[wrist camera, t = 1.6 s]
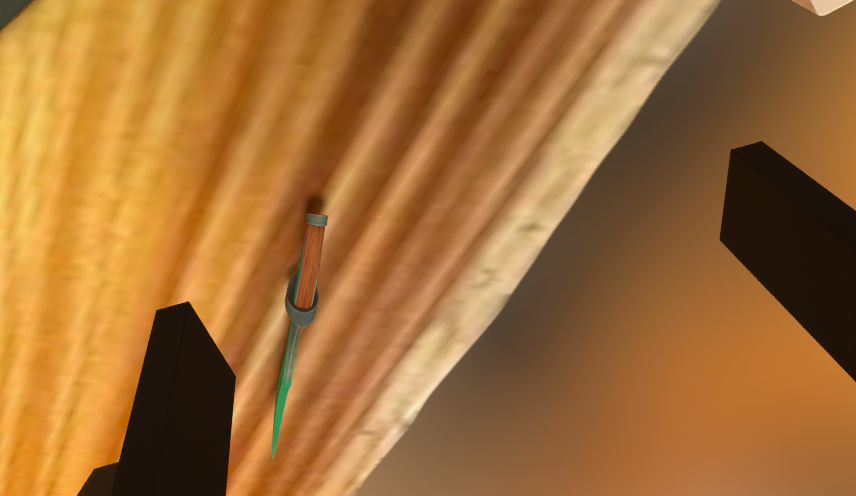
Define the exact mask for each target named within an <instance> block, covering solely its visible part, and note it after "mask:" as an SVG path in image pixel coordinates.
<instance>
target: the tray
mask: <svg viewBox="0 0 856 496" xmlns="http://www.w3.org/2000/svg"><path fill="white" fill-rule="evenodd" d="M33 1H34V0H0V32H1V31H2V30H3V29H4V28H5V27H6V26H7V25H8V24H9V23H11V22H12V21H13V20H14V19H15V18H16V17H17V16H18V15H19V14H20V13H21V12H22V11H23V10H24V9H26V8H27V7H28V6H29V5H30V4H31V3H32V2H33Z"/></svg>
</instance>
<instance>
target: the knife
mask: <svg viewBox="0 0 856 496" xmlns="http://www.w3.org/2000/svg"><path fill="white" fill-rule="evenodd" d="M327 219H328V216H326V215H319V214H311V213H306V221H305V222H307V225H306V229H305V234H304V239H303V248H302V255H301V260H300V264H299V269H298V270H297V271H296V272H295V273H294V274H293V276H292V277H291V279H290V281H289V284H288V287H287V293H286V298H285V307H286V311H287V313H288V315H289V317H290V319H291V324H290V329H289V334H288V339H287V344H286V349H285V354H284V358H283V362H282V367H281V371H280V375H279V379H278V385H277V394H276V403H275V413H274V425H273V441H272V459H273V456H274V453H275V449H276V445H277V440H278V436H279V431H280V427H281V422H282V417H283V412H284V407H285V403H286V398H287V394H288V390H289V387H290V386H291V379H292V372H293V367H294V361H295V355H296V350H297V344H298V339H299V334H300V328H301V327H307V326H308V325H310V324H311V323H312V321H313V319H314V317H315V313H316V308H317V303H318V287H317V277H318V271H319V266H320V259H321V251H322V244H323V238H324V231H325V226H326V225H327Z"/></svg>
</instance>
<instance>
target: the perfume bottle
mask: <svg viewBox="0 0 856 496" xmlns="http://www.w3.org/2000/svg"><path fill="white" fill-rule="evenodd" d="M792 1H794V2H796V3H797V4H799V5H801V6H803V7H804V8H806V9H808V10H810V11H812V12H814V13H815V14H817V15H819V16H824V15H827V14H828V13H830V12H832V11H834V10H836V9H838V8H840V7H842V6H844V5H845V4H847V3H849V2H851V1H853V0H792Z"/></svg>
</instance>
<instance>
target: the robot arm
mask: <svg viewBox="0 0 856 496" xmlns="http://www.w3.org/2000/svg"><path fill="white" fill-rule="evenodd" d="M720 241H721V242H722V243H723V244H724V245H725V246H726V247H727V248H728V249H729V250H730V251H731V252H732V253H733V254H734V255H735V257H736V258H737V259H738V260H739V261H740V262H741V263H742V264H743V265H744V266H745V267H746V268H747V269H748V270H749V271H750V272H751V273H752V274H753V275H754V276H755V277H756V278H757V279H758V281H759V282H760V283H761V284H762V285H763V286H764V287H765V288H766V289H767V290H768V291H769V292H770V293H771V294H772V295H773V296H774V297H775V298H776V299H777V300H778V301H779V302H780V303H781V304H782V305H783V307H784V308H785V309H786V310H787V311H788V312H789V313H790V314H791V315H792V316H793V317H794V318H795V319H796V320H797V321H798V322H799V323H800V324H801V325H802V326H803V327H804V328H805V330H806V331H807V332H808V333H809V334H810V335H811V336H812V337H813V338H814V339H815V340H816V341H817V342H818V343H819V344H820V345H821V346H822V347H823V348H824V349H825V350H826V351H827V352H828V353H829V354H830V356H832V358H833V359H834V360H835V361H836V362H837V363H838V364H839V365H840V366H841V367H842V368H843V369H844V370H845V371H846V372H847V373H848V374H849V375H850V376H851V377H852V378H853V379H854V381H855V382H856V211H855V210H854V209H852V208H851V207H850V206H848V205H847V204H846V203H844V202H843V201H842V200H840V199H839V198H838V197H836V196H835V195H834V194H832V193H831V192H829V191H828V190H827V189H826V188H824V187H823V186H821V185H820V184H819V183H817V182H816V181H815V180H813V179H812V178H811V177H809V176H808V175H807V174H805V173H804V172H803V171H801V170H800V169H799V168H797V167H796V166H795V165H793V164H792V163H790V162H789V161H788V160H786V159H785V158H784V157H782V156H781V155H780V154H778V153H777V152H776V151H774V150H773V149H771V148H770V147H769V146H768V145H766V144H765V143H764V142H762V141H761V142H757V143H754V144H750V145H746V146H743V147H739V148H736V149H732V150H731V153H730V160H729V169H728V176H727V184H726V192H725V200H724V209H723V217H722V225H721V232H720ZM235 381H236V376H235V374H234V373H233V371H232V370H231V368H230V366H229V365H228V363H227V362H226V360H225V358H224V357H223V355H222V354H221V352H220V350H219V349H218V347H217V346H216V344H215V342H214V341H213V339H212V338H211V336H210V334H209V333H208V331H207V330H206V328H205V327H204V325H203V323H202V322H201V320H200V319H199V317H198V315H197V314H196V312H195V311H194V309H193V307H192V306H191V304H190V303H189V301H188V302H184V303H181V304H177V305H174V306H170V307H167V308H163V309H159V310H156V314H155V318H154V322H153V326H152V330H151V334H150V338H149V342H148V346H147V350H146V355H145V359H144V363H143V367H142V371H141V375H140V379H139V383H138V387H137V391H136V395H135V399H134V403H133V407H132V411H131V415H130V419H129V423H128V427H127V431H126V435H125V439H124V443H123V447H122V451H121V455H120V459H119V462H117V463H113V464H110V465H106V466H103V467H99V468H96V469H94V470H93V472H92V473H91V475H90V476H89V478H88V479H87V481H86V482H85V484H84V486H83V487H82V489H81V490H80V492H79V493H78V495H77V496H226V486H227V474H228V463H229V451H230V439H231V428H232V416H233V404H234V392H235Z"/></svg>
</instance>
